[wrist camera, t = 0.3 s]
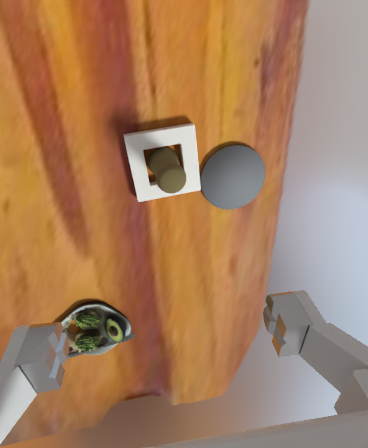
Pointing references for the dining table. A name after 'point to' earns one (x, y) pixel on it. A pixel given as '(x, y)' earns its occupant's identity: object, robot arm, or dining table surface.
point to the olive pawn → (167, 170)
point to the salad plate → (96, 329)
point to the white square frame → (159, 139)
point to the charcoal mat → (232, 177)
